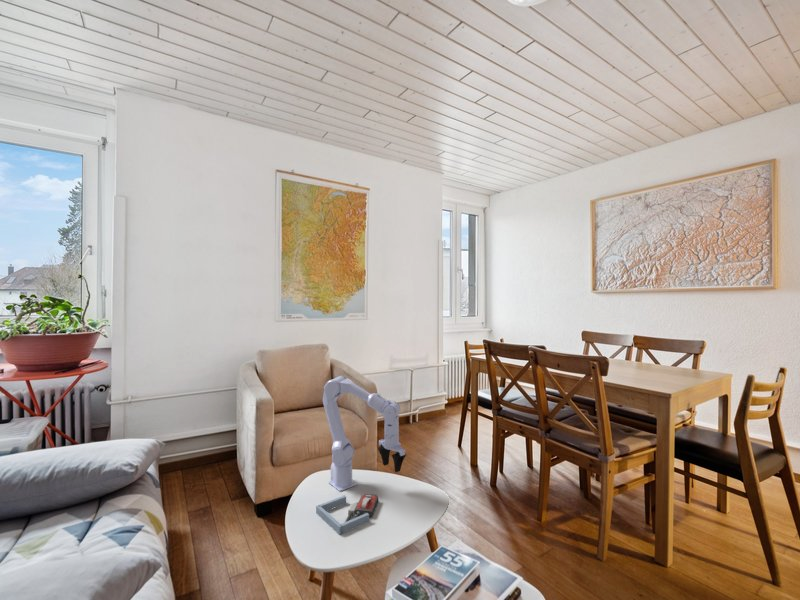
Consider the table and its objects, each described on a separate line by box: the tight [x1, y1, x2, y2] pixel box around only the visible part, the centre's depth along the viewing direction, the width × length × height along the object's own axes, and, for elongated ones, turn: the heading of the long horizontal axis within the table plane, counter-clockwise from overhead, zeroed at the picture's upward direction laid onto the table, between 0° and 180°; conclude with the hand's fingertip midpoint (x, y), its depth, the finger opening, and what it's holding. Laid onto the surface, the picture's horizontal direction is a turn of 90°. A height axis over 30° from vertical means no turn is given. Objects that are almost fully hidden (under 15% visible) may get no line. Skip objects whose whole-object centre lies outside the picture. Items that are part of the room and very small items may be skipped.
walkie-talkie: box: [344, 493, 379, 523], centre depth 136 cm, size 9×4×20 cm
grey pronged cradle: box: [315, 494, 370, 536], centre depth 133 cm, size 16×12×2 cm
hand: (391, 468), depth 151 cm, fingers open, 7 cm apart
